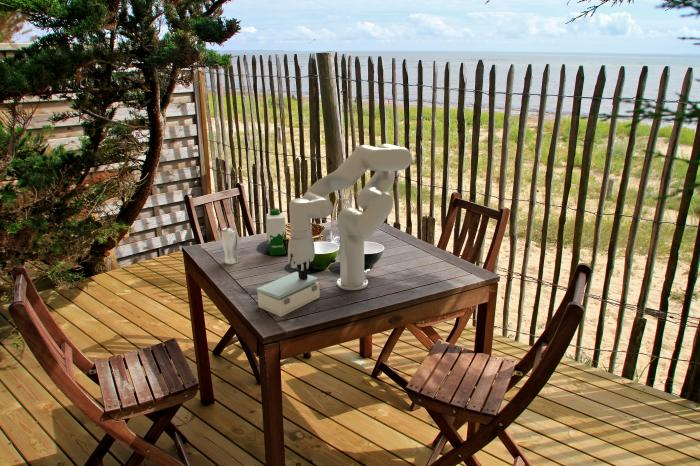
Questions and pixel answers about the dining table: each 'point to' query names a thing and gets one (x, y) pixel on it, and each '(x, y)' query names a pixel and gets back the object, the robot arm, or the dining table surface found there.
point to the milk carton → (276, 232)
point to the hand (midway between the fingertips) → (303, 278)
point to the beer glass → (230, 245)
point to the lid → (286, 285)
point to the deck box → (289, 300)
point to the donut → (325, 233)
